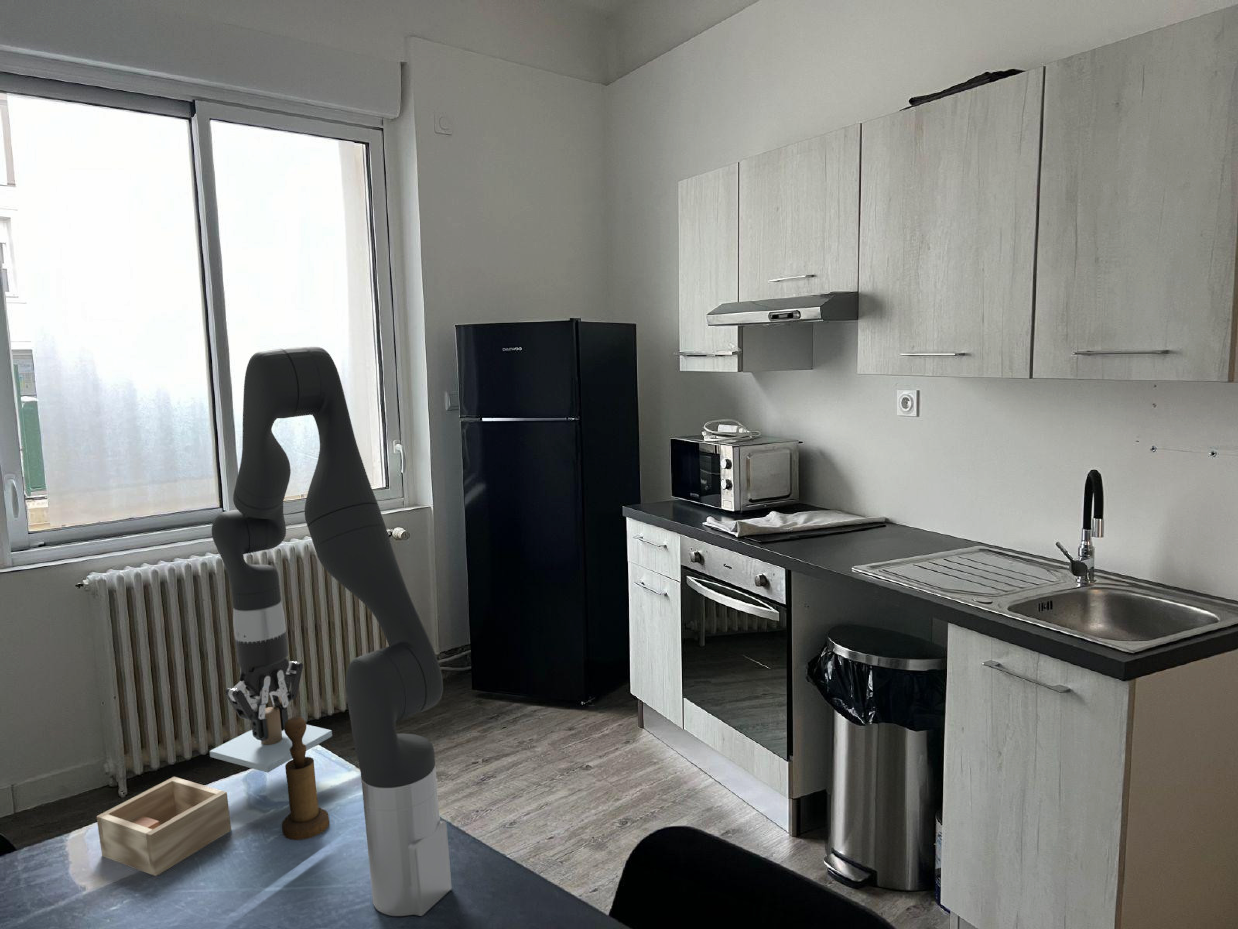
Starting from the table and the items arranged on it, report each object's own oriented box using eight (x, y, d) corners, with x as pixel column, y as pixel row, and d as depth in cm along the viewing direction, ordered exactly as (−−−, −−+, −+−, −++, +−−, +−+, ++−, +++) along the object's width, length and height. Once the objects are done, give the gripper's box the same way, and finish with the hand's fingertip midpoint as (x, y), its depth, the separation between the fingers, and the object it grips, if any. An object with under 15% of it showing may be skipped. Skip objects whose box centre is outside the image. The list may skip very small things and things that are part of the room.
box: (232, 836, 127) (226, 792, 126) (156, 882, 116) (150, 835, 115) (179, 819, 132) (173, 776, 131) (103, 862, 122) (96, 816, 121)
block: (162, 843, 124) (159, 821, 123) (139, 857, 121) (136, 834, 120) (146, 838, 125) (143, 816, 125) (123, 851, 122) (120, 828, 122)
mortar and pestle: (337, 821, 129) (326, 709, 127) (318, 846, 123) (306, 728, 120) (295, 821, 130) (283, 709, 128) (274, 846, 124) (261, 728, 121)
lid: (332, 736, 141) (328, 701, 140) (267, 772, 129) (263, 735, 128) (276, 723, 147) (273, 689, 146) (210, 757, 135) (206, 721, 134)
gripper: (239, 649, 127) (251, 758, 130) (311, 620, 140) (321, 720, 142) (205, 643, 131) (218, 749, 133) (279, 615, 143) (289, 713, 146)
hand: (271, 733), depth 138 cm, fingers closed on lid, 3 cm apart
